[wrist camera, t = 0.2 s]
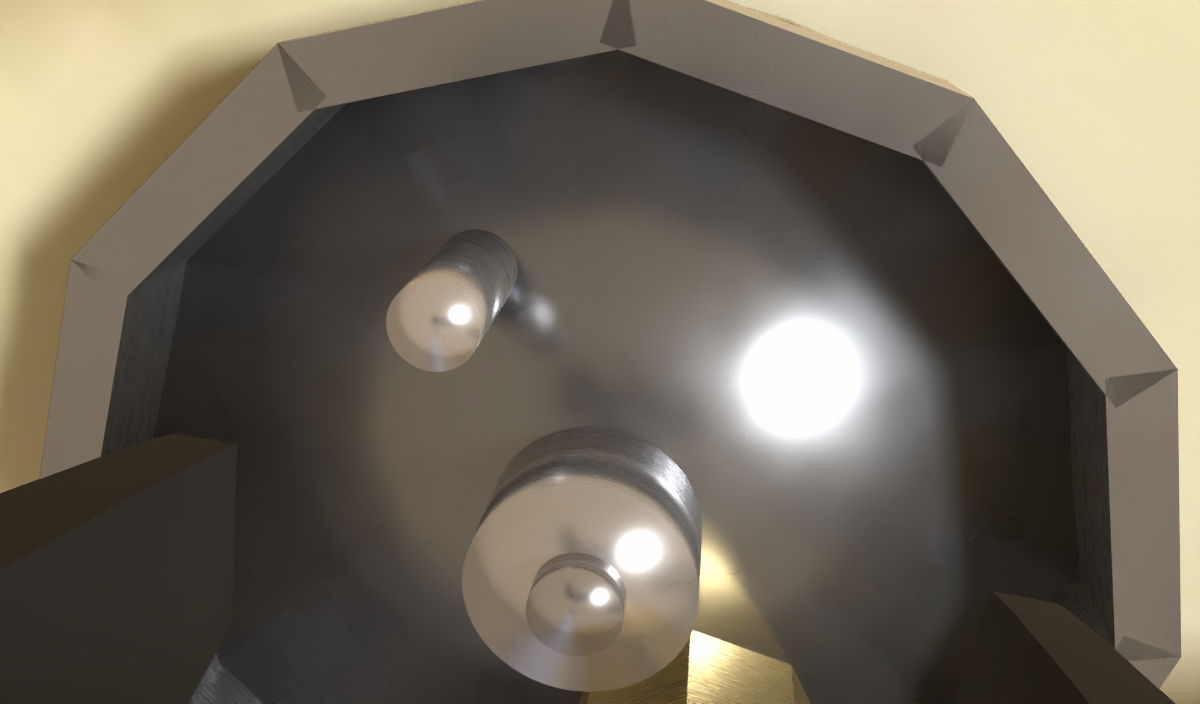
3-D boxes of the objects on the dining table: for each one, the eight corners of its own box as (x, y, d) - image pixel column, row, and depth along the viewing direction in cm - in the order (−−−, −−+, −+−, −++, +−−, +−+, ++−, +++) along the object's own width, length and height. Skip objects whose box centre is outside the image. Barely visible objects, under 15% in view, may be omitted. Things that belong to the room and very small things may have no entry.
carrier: (856, 970, 24) (877, 1148, 21) (78, 697, 24) (-36, 830, 21) (1332, 218, 17) (1491, 291, 14) (234, -183, 17) (100, -217, 13)
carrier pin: (510, 309, 19) (464, 384, 16) (436, 282, 19) (376, 353, 16) (533, 237, 18) (490, 301, 15) (457, 211, 18) (399, 268, 15)
